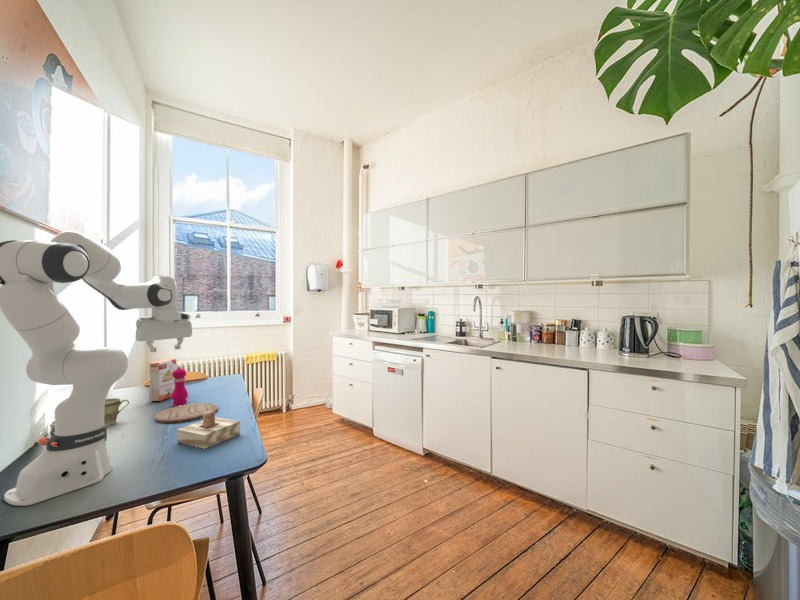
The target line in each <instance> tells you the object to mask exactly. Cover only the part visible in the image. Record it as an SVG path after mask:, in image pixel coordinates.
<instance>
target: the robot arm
mask: <svg viewBox="0 0 800 600" xmlns="http://www.w3.org/2000/svg"><path fill="white" fill-rule="evenodd" d="M122 264H123V263H122V260H121V258H120V256H118V255H117V254H116V253H115V252H114V251H113V250H111V248H108V247H107V246H106V245H105V244H102V242H100V241H98V240H96V239H94V238H92V237H90V236H88V235H87V234H83V233H82V232H79V231H76V230H75V231H74V230H65V231H62V232H59V233H58V234H55V235H54V237H52V239H51V240H50V241H42V240H13V239H12V240H7V241H6V240H5V241H1V242H0V285H2V286H0V311H1V313H2V314H3V316H4V317H5V320H7V321H8V323H9V324H10V325H11V327H13V329H14V330H15V331H16V332H17V333H18V335H19V336H20V337H21V338H22V340H23V341H24V342H25V343H26V345H28V347H29V349H30V350H31V354H32V356H31V357H30V358H29V359H28V361H27V362H26V367H25V369H26V370H25V371H26V374H27V375H26V376H27V378H28V379H29V380H31V381H32V382H34V383H38V384H43V385H51V386H56V385H57V386H63V385H64V386H65V385H67V386H69V385H72V390H71V394H70V395H69V397H67V398H66V399H64V400H62V401H61V402H60V403H59V404H57V405H56V407H55V409H54V434H53V435H52V436H51V437H50V438H48V437H45V436H42V437H41V438H39V440H38V441H37V444H39V445H41V446H45V447H46V450H44V451H43V452H41V454H40V455H38V456H37V457H36V458H34V459H33V460H32V461H31V462H30V463H29V464H27V465H26V466H25V467H24V468H22V469H21V470H20V472H19V474H18V477H17V479H16V486H15V487H13V488H11V489H9V490H6V492H5V493H4V495H3V500H4V501H5V503H7V504H9V505H11V506H17V507H18V506H22V507H23V506H32V505H35V504H38V503H40V502H43V501H46V500H49V499H53V498H55V497H58V496H61V495H64V494H66V493H69V492H73V491H76V490H79V489H81V488H85V487H88V486H90V485H93V484H96V483H99V482H101V481H103V479H104V477H105V476H106V475H107V474H109V473H110V472H111V471H112V469H113V467H112V464H111V461H110V459H109V455H108V450H107V444H106V442H107V435H108V430H107V426H106V424H104V411H105V400H106V399H107V396H108V393H109V392H110V390H111V388H112V386H114V384H115V383H117V381H118V380H120V379H121V378H122V377H123V376H124V375H125V374H126V372H127V370H128V367H129V359H128V356H127V354H126V352H124V351H123V350H121V349H116V348H111V347H105V346H102V347H101V346H100V347H99V346H98V347H94V346H93V347H80V346H77V345H76V344H75V343H74V342H75V341H76V340H77V339H78V337H79V335H80V331H81V328H80V325H79V324H78V323H77V321H76V319H75V318H74V317H73V315H72V314H71V312H70V311H69V310H68V308H67V307H66V306H65V305H64V303H63V302H62V301H61V300H60V298H59V297H58V296H57V295H56V293H55V289H54V283H55V284H56V283H59V284H60V283H61V284H66V283H67V284H68V283H74V282H77V281H80V280H82V281H83V282H84V283H85V284H86V285H88V286H89V287H91V288H92V289H94V290H95V291H96V292H98V293H99V294H101V296H103V297H105V298H106V299H107V300H108V301H109V303H111V305H112V306H113V307H114V308H115V309H117V310H120V311H127V310H135V309H137V310H138V309H151V316H141V317H139V318H138V319H137V320H136V321H135V324H136V327H135V328H136V330H135V340H136V341H137V342H146V343H145V344H146V345H147V347H148V348H149V353H157V347H156V346H154V345H153V344H154V341H159V340H160V341H162V340H172V339H176V341H177V343H176V344H174V345H173V346H174V350H181V346H182V343H183V342H184V339H185V338H191V337H192V335H193V326H192V322H191V315H190V314H188V313H184V312H181V311H179V308H178V307H179V306H178V305H177V303H178V302H177V301H178V286H177V282H176V279H175V278H174V277H173V276H172V277H171V276H169V275H155V276H153V277H152V279H151V280H150V281H147V282H139V283H137V282H136V283H121V282H118V281H116V280H115V279H116V278H117V277H118V276H119V274H120V273H121V270H122Z"/></svg>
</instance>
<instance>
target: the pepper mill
mask: <svg viewBox="0 0 800 600" xmlns="http://www.w3.org/2000/svg"><path fill="white" fill-rule="evenodd" d="M186 375H187V370H186V369H184V368H182V366H181V365H178V366H176V370H174V372H173V377H174V378H175V379H174V382H175V388H174V390H173V393H172V397H170V398H171V400H173V401H172V407H176V406H179V405H184V404H185V405H186V403H188V400H187V399H188V396H189V393H188V390H187V388H186V386H185V381H186Z"/></svg>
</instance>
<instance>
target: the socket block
mask: <svg viewBox="0 0 800 600" xmlns="http://www.w3.org/2000/svg"><path fill="white" fill-rule="evenodd" d="M240 426H241V425H240V421H239V420H233V419H227V418H224V417H223V418H222V417H217V416H215V426H213V427H211V428H208V429H206V428H203V420H201V421H200V420H199V421H198V422H194V423H191V424H189V425H186V426H183V427H181V428H177V429H176V432H177V434H176V437H177V440H176V441H177V442H179V443H178V444H180V443H183V444H182V445H185V444H187V445H186V446H189V445H191V446H190V447H193V446H195V447H194V448H197V447H199V448H198V449H201V448H203V449H202V450H206V449H208V447H209V448H211V447H213V446H216V445H218V444H220V443H222V441H223V442H224V441H227V440H229V439H231V437H232V438H234V437H236V436H238V435H240V434H241V430H240V429H241V427H240ZM217 443H218V444H217ZM215 444H216V445H215ZM212 445H213V446H212ZM210 446H211V447H210ZM205 448H206V449H205Z"/></svg>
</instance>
